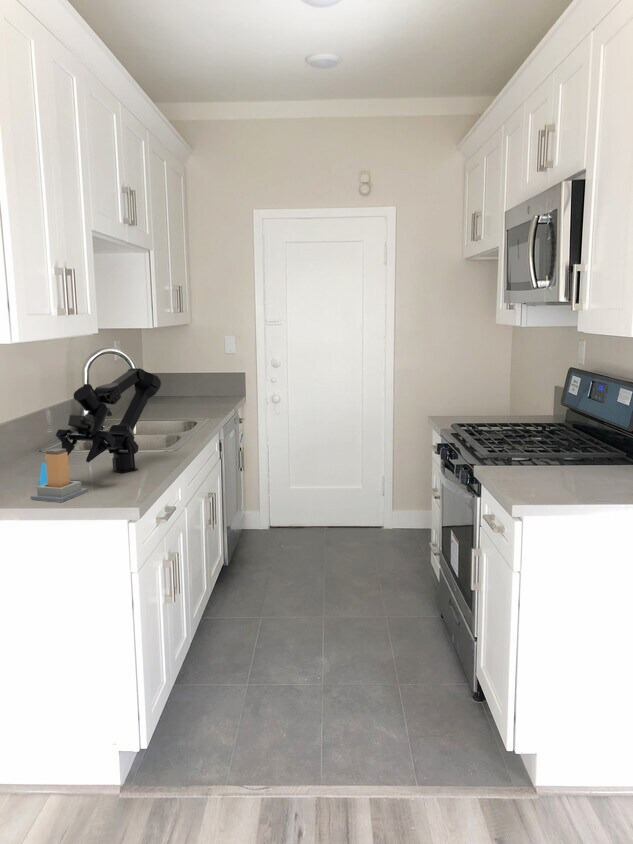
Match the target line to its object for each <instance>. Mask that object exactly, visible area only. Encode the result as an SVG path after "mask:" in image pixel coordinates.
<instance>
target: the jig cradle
mask: <svg viewBox="0 0 633 844" xmlns="http://www.w3.org/2000/svg"><path fill="white" fill-rule="evenodd" d="M86 493H89V488H85V487H82V481H78V480H70V484H69V485H67V486H64V487H61V488H58V487H48V483H46V484H44V485H41V486H39V485H38V486H36V493H35V494H33V495H30V500H31V499H32V500H31V501H41V500H45V501H44V502H51V501H60V502H59V503H63V502H62V501H64V502H66V501H65V500H67V499H69V500H71V499H70V498H72V499H74V498H76V497H79V496H81V495H84V494H86ZM78 495H79V496H78ZM75 496H76V497H75ZM73 497H74V498H73ZM67 501H68V500H67Z"/></svg>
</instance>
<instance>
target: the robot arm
mask: <svg viewBox="0 0 633 844" xmlns="http://www.w3.org/2000/svg"><path fill="white" fill-rule="evenodd" d="M132 386H134V391H135V393H134V394H133V397H132V399H131V400H130V403H129V405H128V407H127V409H126V410H125V413H124V415H123V417H122V418H121V421H120V423H119V424H112V425H111V426H110V429H109V431H108V430H104V429H105V427H104V426H103V424H104V422H105V420H106V418H107V417H112V416H113V414H112V410H111V408H110V407H108V406H107V405H117V403H118V401H120V399H121V398H122V394H123V393H124V392H126V391H127V390H128V389H130V387H132ZM161 386H162V381H161V379H160V378H159V376H158V375H156V374H153V373H150V372H148V371H145V369H142V368H139V367H138V368H136V367H135V368H133V367H131V368H129V369H128V370H127V371H125V373H123V374H121V375H120V376H119V377H118V378H116V379H114V380H113V381H112V382H110V383H105V384H102V385H99V386H97V387H95V388H93V386H92V385H91V384H89V383H84V384H83V386H80V387H78V389H76V390H75V391H74V392H73V399H74V401H76V403H77V404H78V405H79V406H80V408H82V410H84V411H86V412H87V413H85V415H79V414H78V415H76V414H75V415H73V414H70V415H69V417H68V418H69V419H68V423H67V426H69V427H73V428H74V431H75V432H76V433H74V432H73V431H72V430H71V429H69V428H59V429H58V430H57V431H56V433H55V437H56V438H57V439H58V440H59V441H60V442H61V449H66V452H67V453H68V456H69V455H70V454H71V453H72V451H73V450H74V448H75V447H76V446H75V445H76V444H77V442H78V441H83V442H92V445H91V447H90V449H89V451H88V454H87V457H86V460H85V461H86V462H87V463H90V462H91V461H93V460H94V459H95V458H96V457H98V456H100V454H102V453H104V452H106V451H108V453H109V454H113V455H112V456H113V457H112V459H111V460H112V469H111V470H112V471H114V472H117V473H120V474H122V473H127V472H133V471H137V470H138V469H139V468H137V467H136V463H135V462H136V461H135V460H136V459H135V454H137V453H138V452H139V444H138V443H137V442H136V441H135V433H134V429H135V428H136V425H137V423H138V421H139V419H140V417H141V415H142V413H143V411H144V409H145V407H146V405H147V404H148V401H149V399H151V398H153V396H156V394H157V393H158V391H159V390H160V388H161Z"/></svg>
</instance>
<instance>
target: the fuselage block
mask: <svg viewBox="0 0 633 844" xmlns="http://www.w3.org/2000/svg"><path fill="white" fill-rule="evenodd" d="M44 458H45V463H46V470H47V482H48V487H58V488H61V487H64V486H67V485H69V484H70V481H71V479H70V469H69V455H68V453H67V452H66V449H62V447H60V448H59V447H58V448H57V447H55V448H51V449H48V450H45V454H44Z"/></svg>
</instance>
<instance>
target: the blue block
mask: <svg viewBox="0 0 633 844" xmlns="http://www.w3.org/2000/svg"><path fill="white" fill-rule="evenodd" d="M39 476H40V477H39V485H38V486H41V485H44V484H46V483H48V482H47V470H46V462H42V463H41V469H40V475H39Z"/></svg>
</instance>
